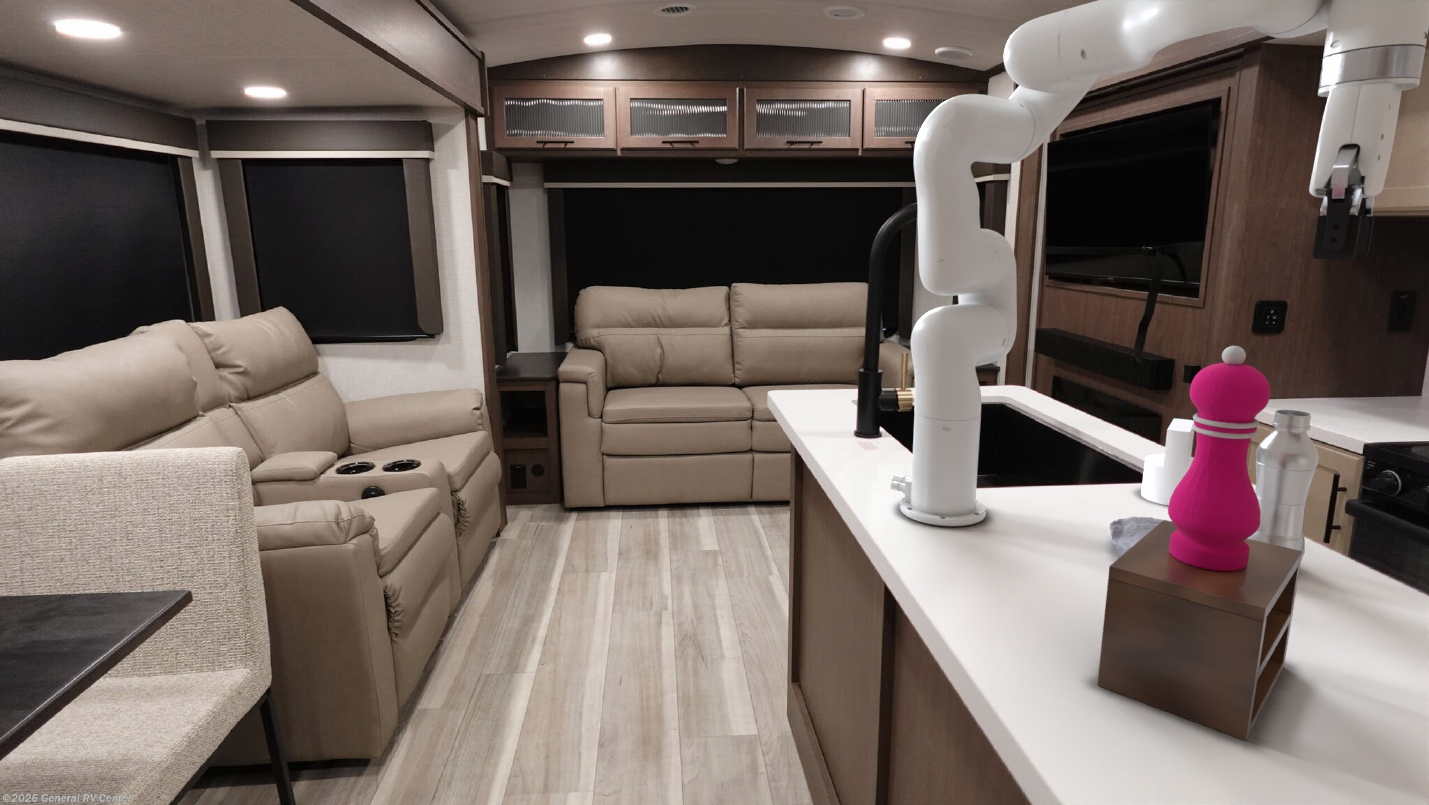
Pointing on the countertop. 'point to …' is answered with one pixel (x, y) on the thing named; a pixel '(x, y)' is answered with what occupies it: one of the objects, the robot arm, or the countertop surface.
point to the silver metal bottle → (1285, 480)
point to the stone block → (1131, 531)
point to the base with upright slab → (1169, 463)
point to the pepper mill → (1220, 468)
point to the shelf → (1198, 631)
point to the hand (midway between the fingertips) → (1340, 257)
